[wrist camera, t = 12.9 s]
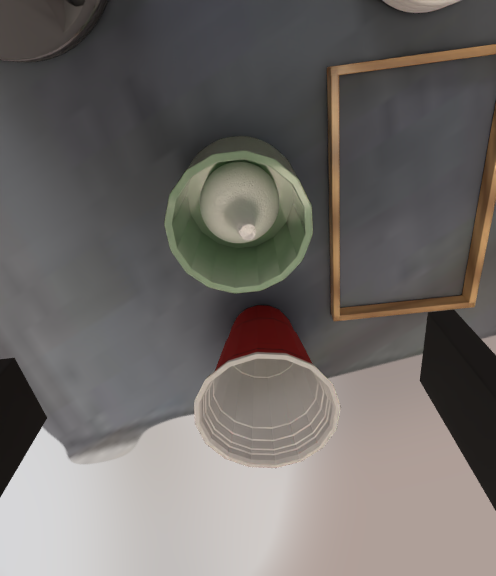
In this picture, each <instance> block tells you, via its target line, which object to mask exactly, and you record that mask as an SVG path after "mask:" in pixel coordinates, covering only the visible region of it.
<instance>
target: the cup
mask: <svg viewBox="0 0 496 576" xmlns="http://www.w3.org/2000/svg"><path fill="white" fill-rule="evenodd" d="M232 162H247V163H251V164H254V165H256V166H258V167H260V168H261V169H263V170H264V171H265V172H266V173H267V174H268V175H269V176H270V177H271V178H272V180H273V181H274V183H275V185H276V187H277V190H278V193H279V211H278V215H277V217H276V220H275V222H274V223H273V225H272V226H271V228H270V229H269V230H268V231H267V232H266V233H265V234H264V235H263V236H261V237H259V238H258V239H256V240H254V241H251V242H246V243H231V242H227V241H224V240H222V239H220V238H218V237H217V236H216V235H214V234H213V233H212V232H211V231H210V230H209V229H208V227H207V226H206V224H205V223H204V221H203V218H202V215H201V211H200V195H201V191H202V188H203V185H204V183H205V181H206V180H207V178H208V177H209V176H210V174H211V173H212V172H214V171H215V170H216V169H217V168H219V167H221V166H223V165H225V164H228V163H232ZM164 225H165V230H166V234H167V238H168V242H169V247H170V250H171V252H172V253H173V255H174V256H175V258H176V259H177V260H178V262H179V263H180V265H181V266H182V267H183V269H184V270H185V272H186V273H188V274H189V275H191V276H192V277H194V278H195V279H197V280H198V281H200V282H201V283H203V284H204V285H206V286H207V287H209V288H213V289H217V290H221V291H226V292H230V293H235V294H236V293H245V292H255V291H262V290H264V289H266V288H268V287H270V286H272V285H274V284H276V283H278V282H280V281H282V280H284V279H285V278H286V277H287V276H288V275H289V274H290V273H291V272H292V271H293V270H294V269H295V268H296V267H297V266H298V264H299V263H300V262H301V261H302V260H303V259H304V256H305V253H306V251H307V248H308V246H309V243H310V240H311V238H312V235H313V223H312V206H311V203H310V201H309V199H308V197H307V195H306V193H305V191H304V189H303V187H302V185H301V183H300V181H299V179H298V177H297V175H296V173H295V172H294V170H293V168H292V166H291V165H290V163H289V161H288V159H287V158H286V157H284V156H283V155H282V154H281V153H280V152H279V151H278V150H277V149H276V148H274V147H273V146H272V145H270V144H269V143H267V142H264V141H262V140H259V139H257V138H253V137H247V136H232V137H227V138H223V139H219V140H217V141H216V142H214V143H212V144H210V145H209V146H207V147H206V148H204V149H203V150H201V151H200V152H199V153H198V154H197V155H196V157H195V158H194V160H193V161H192V163H191V164H190V165H189V167H188V168H187V170H186V171H185V173H184V174H183V176H182V177H181V178H180V180H179V181H178V183H177V184H176V186H175V187H174V189H173V190H172V192H171V193H170V195H169V198H168V204H167V209H166V215H165V220H164Z"/></svg>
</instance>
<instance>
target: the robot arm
mask: <svg viewBox="0 0 496 576" xmlns="http://www.w3.org/2000/svg"><path fill="white" fill-rule="evenodd" d="M107 2H108V0H0V60H4V61H13V62H38V61H43V60H48V59H51V58H54V57H57V56H59V55H62V54H64V53H66V52H67V51H69V50H71V49H72V48H74V47H75V46H76V45H78V44H79V43H80V42H81V41H82V40H83V39H84V38H85V37H86V36H87V35H88V34H89V33H90V32H91V30H92V29H93V28H94V26H95V25H96V23H97V22H98V20H99V18H100V16H101V15H102V13H103V11H104V8H105V6H106V4H107ZM420 382H421V383H422V385H423V387H424V389H425V390H426V392H427V394H428V396H429V397H430V399H431V401H432V402H433V404H434V406H435V407H436V409H437V411H438V413H439V414H440V416H441V418H442V419H443V421H444V423H445V425H446V426H447V428H448V430H449V431H450V433H451V435H452V437H453V438H454V440H455V441H456V443H457V445H458V447H459V449H460V450H461V452H462V454H463V455H464V457H465V459H466V460H467V462H468V464H469V466H470V467H471V469H472V471H473V473H474V474H475V476H476V477H477V479H478V481H479V483H480V484H481V486H482V488H483V490H484V491H485V493H486V495H487V497H488V498H489V500H490V502H491V503H492V505H493V507H494V508H495V510H496V355H495V354H494V353H493V352H492V351H491V350H490V349H489V347H487V345H486V344H485V343H484V342H483V341H482V340H481V339H480V338H479V337H478V335H477V334H476V333H475V332H474V331H473V330H472V329H471V328H470V327H469V326H468V325H467V323H466V322H465V321H464V320H463V319H462V318H461V317H460V316H459V315H458V314H457V313H456V311H455V310H446V311H437V312H428V317H427V325H426V333H425V342H424V350H423V359H422V367H421V375H420ZM46 419H47V417H46V415H45V413H44V411H43V409H42V408H41V406H40V404H39V402H38V400H37V398H36V397H35V395H34V393H33V391H32V389H31V387H30V386H29V384H28V382H27V380H26V378H25V376H24V375H23V373H22V371H21V369H20V367H19V365H18V364H17V362H16V360H15V358H9V359H0V497H1V495H2V494H3V492H4V490H5V488H6V487H7V485H8V483H9V482H10V480H11V478H12V477H13V475H14V473H15V471H16V470H17V468H18V466H19V465H20V463H21V461H22V460H23V458H24V456H25V454H26V453H27V451H28V449H29V448H30V446H31V444H32V443H33V441H34V439H35V438H36V436H37V434H38V433H39V431H40V429H41V427H42V426H43V424H44V422H45V421H46Z"/></svg>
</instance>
